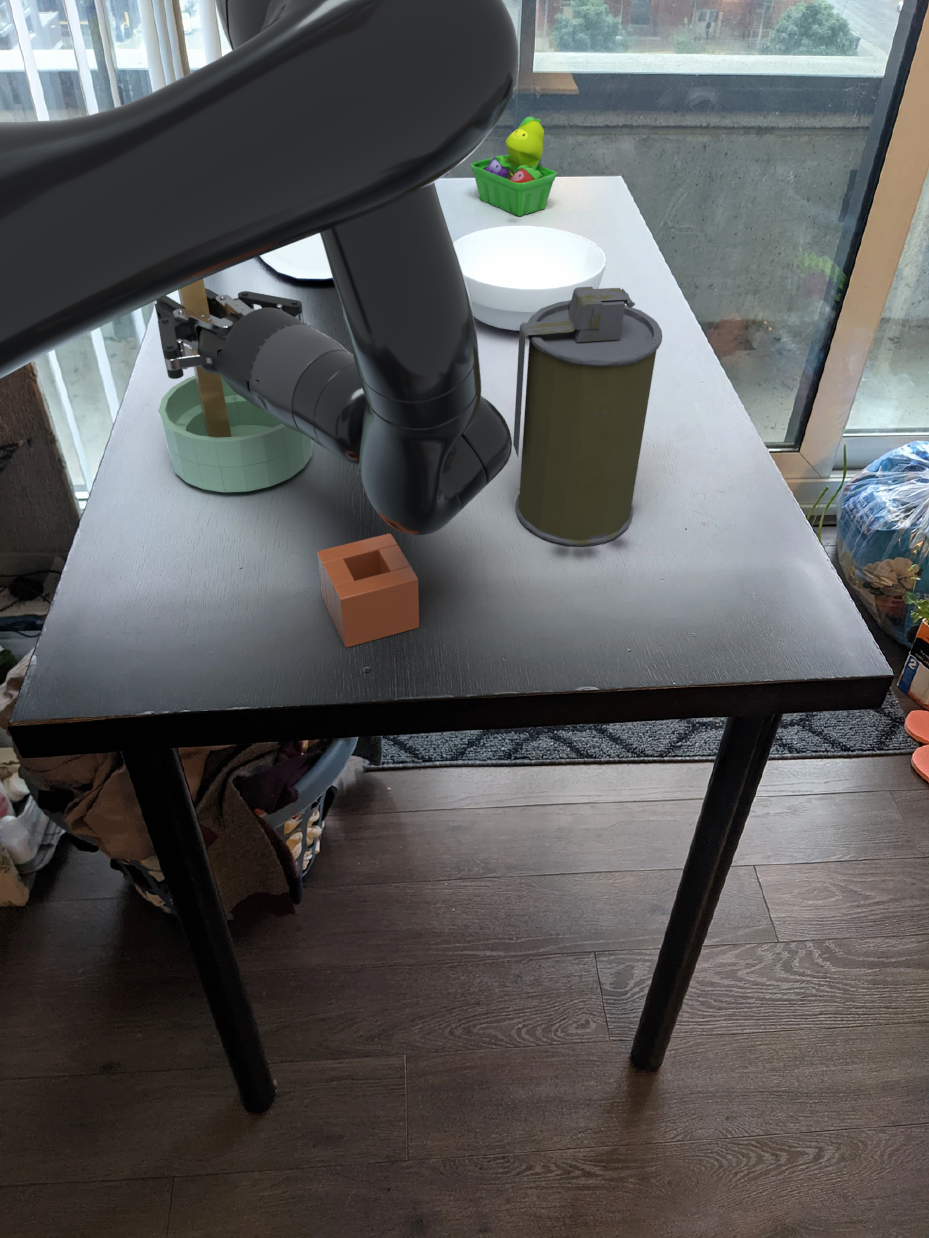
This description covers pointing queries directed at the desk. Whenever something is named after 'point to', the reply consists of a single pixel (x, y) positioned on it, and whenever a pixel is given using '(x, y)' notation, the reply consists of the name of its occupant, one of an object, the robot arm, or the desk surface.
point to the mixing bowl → (229, 443)
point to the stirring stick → (207, 382)
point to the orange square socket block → (369, 589)
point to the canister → (583, 414)
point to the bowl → (525, 270)
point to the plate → (301, 260)
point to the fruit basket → (517, 172)
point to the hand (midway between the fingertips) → (177, 301)
